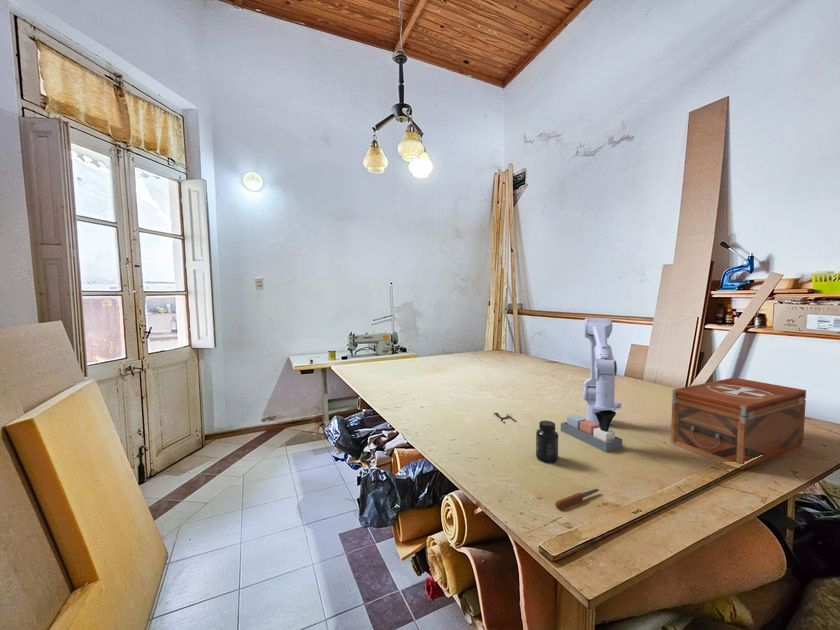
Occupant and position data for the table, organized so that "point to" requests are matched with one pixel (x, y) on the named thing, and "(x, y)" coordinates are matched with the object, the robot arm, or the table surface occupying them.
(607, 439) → the ivory key
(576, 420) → the light blue square block
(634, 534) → the table surface
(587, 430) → the brick key
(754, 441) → the wooden box
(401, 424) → the table surface
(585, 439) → the key housing
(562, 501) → the chisel
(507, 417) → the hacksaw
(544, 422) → the supplement bottle
